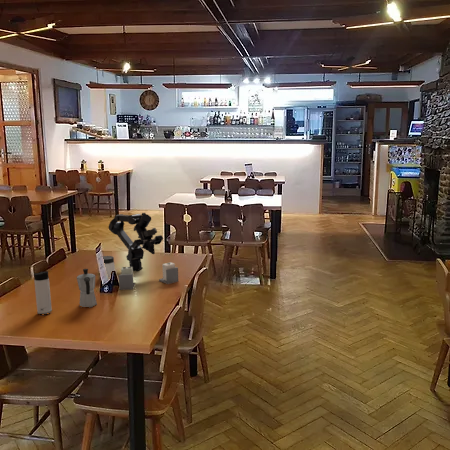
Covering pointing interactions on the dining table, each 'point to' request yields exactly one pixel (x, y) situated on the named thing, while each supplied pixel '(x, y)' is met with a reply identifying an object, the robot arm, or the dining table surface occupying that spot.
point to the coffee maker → (87, 289)
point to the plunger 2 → (167, 266)
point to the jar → (109, 264)
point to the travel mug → (42, 292)
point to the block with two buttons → (127, 270)
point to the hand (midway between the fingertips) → (153, 253)
